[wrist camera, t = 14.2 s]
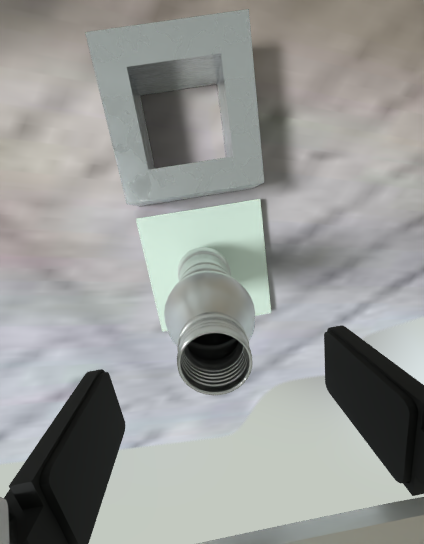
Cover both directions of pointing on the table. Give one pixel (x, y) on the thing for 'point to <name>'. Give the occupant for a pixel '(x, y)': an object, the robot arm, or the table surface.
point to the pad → (213, 234)
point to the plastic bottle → (210, 323)
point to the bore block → (174, 76)
